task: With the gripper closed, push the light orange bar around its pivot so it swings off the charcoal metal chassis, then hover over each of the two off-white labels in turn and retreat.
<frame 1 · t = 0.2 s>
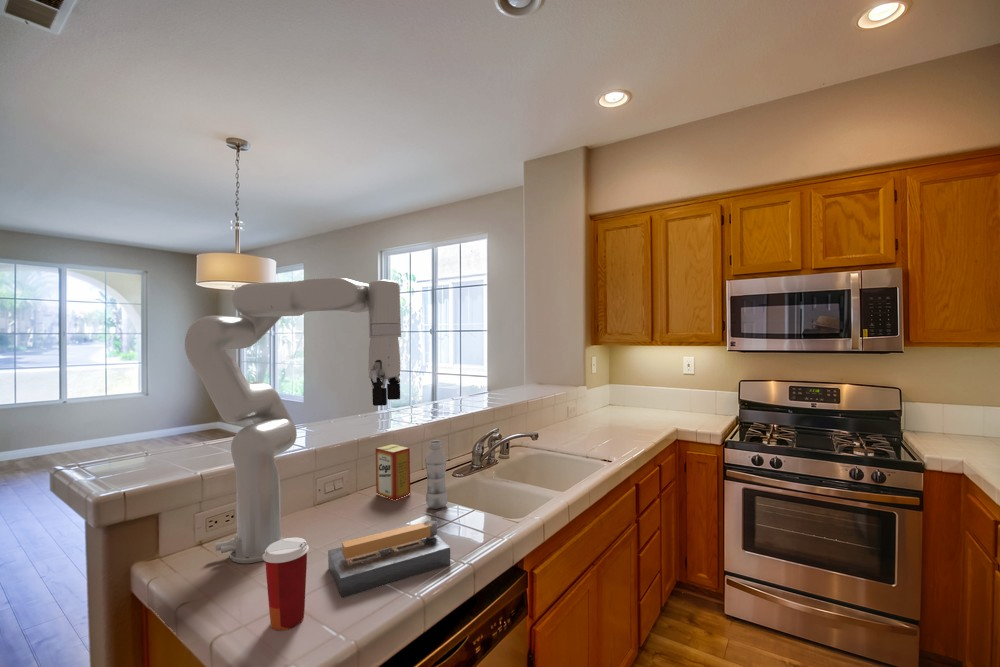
hand: (387, 402, 108), 37 cm above the worktop, tool pointing down, fingers open, 9 cm apart
light orange bar: (392, 538, 102), point 6 cm above the worktop, hinge at 0.0°
paper cup: (287, 622, 83), on the worktop
plastic bottle: (437, 507, 137), on the worktop
chassis: (389, 566, 102), on the worktop
red and yellow box: (393, 495, 148), on the worktop
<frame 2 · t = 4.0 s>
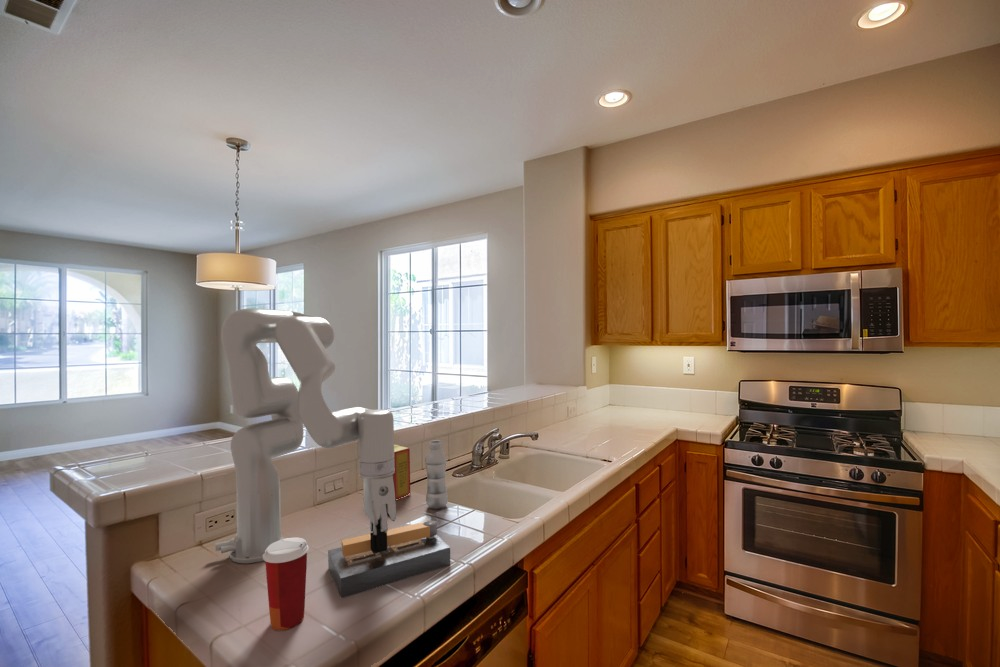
hand: (379, 550, 98), 6 cm above the worktop, tool pointing down, fingers closed
light orange bar: (391, 537, 103), point 6 cm above the worktop, hinge at 3.1°, touching gripper
everything else where it was.
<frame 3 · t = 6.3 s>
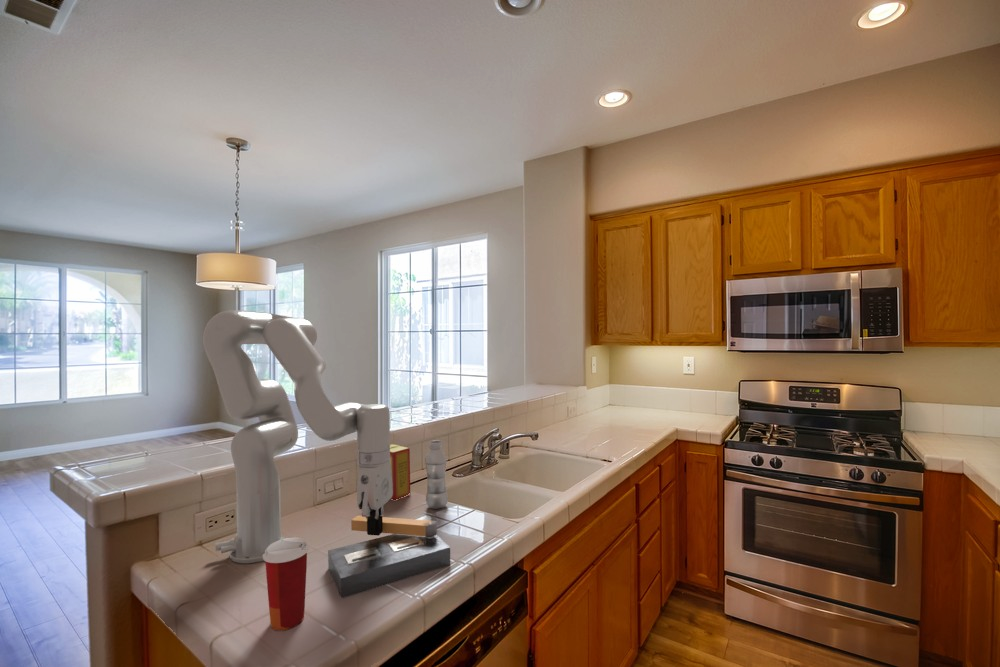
hand: (374, 533, 106), 6 cm above the worktop, tool pointing down, fingers closed
light orange bar: (394, 525, 109), point 6 cm above the worktop, hinge at 43.5°, touching gripper
everything else where it was.
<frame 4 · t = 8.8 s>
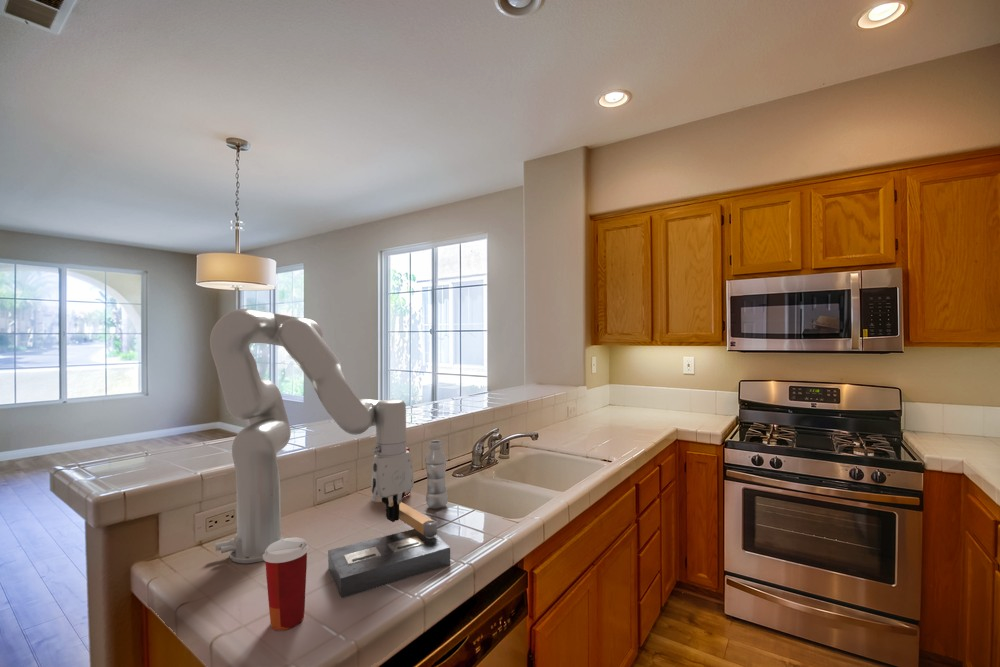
hand: (392, 519, 115), 6 cm above the worktop, tool pointing down, fingers closed
light orange bar: (411, 517, 114), point 6 cm above the worktop, hinge at 81.1°
everything else where it was.
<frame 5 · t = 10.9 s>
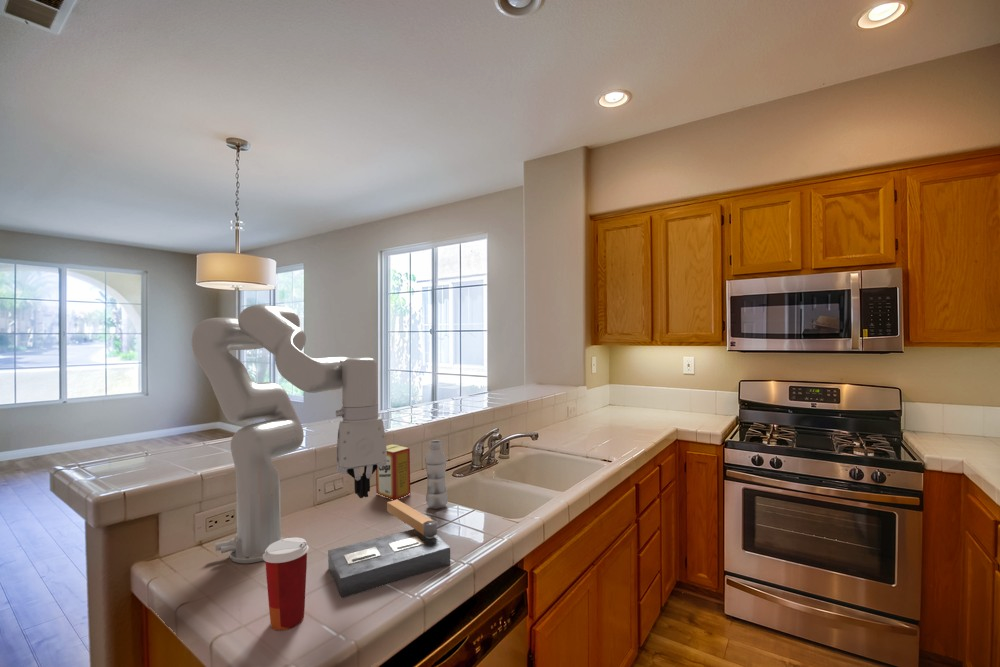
hand: (362, 495, 99), 17 cm above the worktop, tool pointing down, fingers closed
nothing on the worktop moved.
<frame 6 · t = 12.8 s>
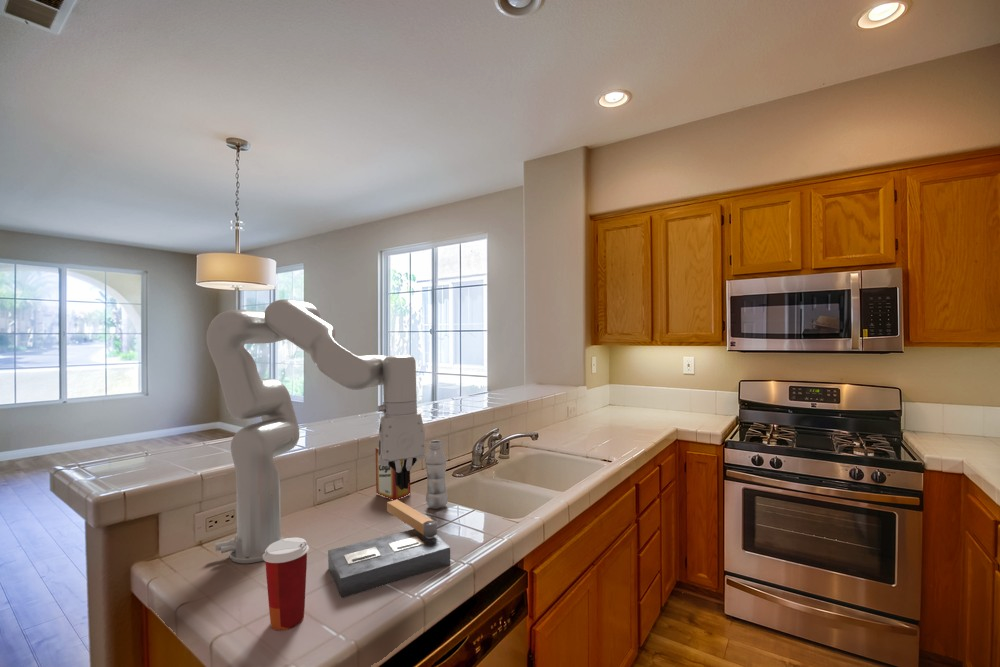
hand: (402, 487, 104), 17 cm above the worktop, tool pointing down, fingers closed
nothing on the worktop moved.
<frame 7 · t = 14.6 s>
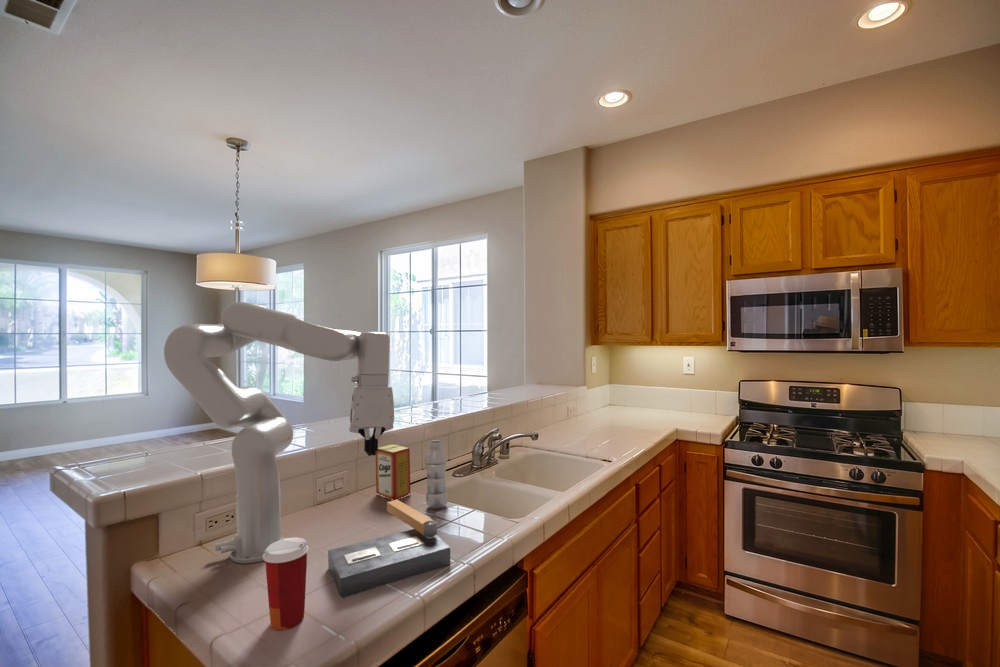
hand: (370, 454, 112), 23 cm above the worktop, tool pointing down, fingers closed
nothing on the worktop moved.
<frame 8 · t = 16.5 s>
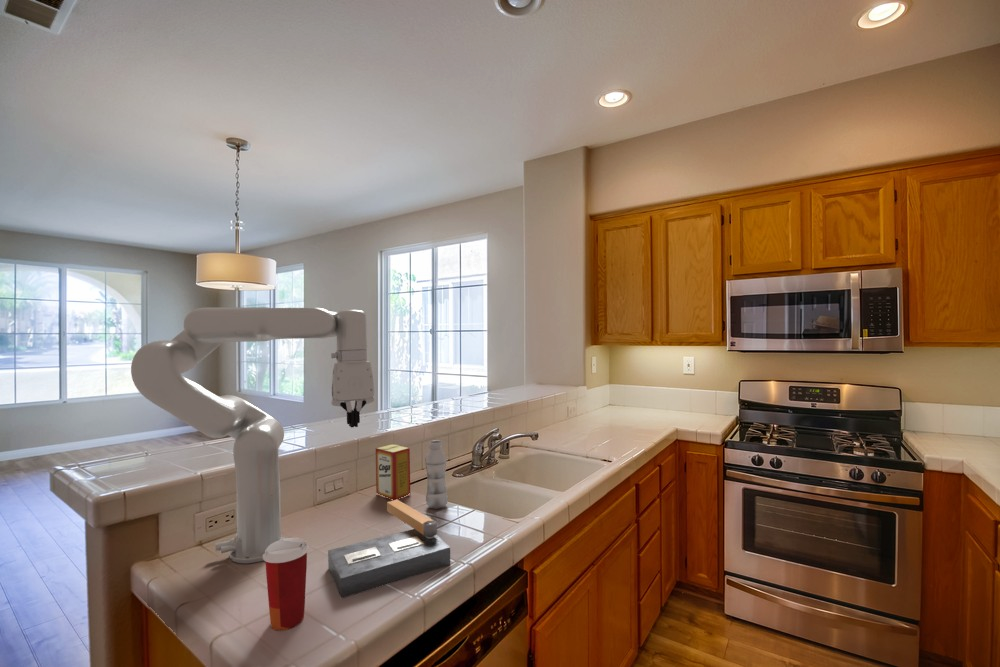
hand: (353, 426, 118), 29 cm above the worktop, tool pointing down, fingers closed
nothing on the worktop moved.
at the end: light orange bar at +81° (first picture: +0°); paper cup moved 0.2 cm from its start; plastic bottle moved 0.2 cm from its start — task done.
